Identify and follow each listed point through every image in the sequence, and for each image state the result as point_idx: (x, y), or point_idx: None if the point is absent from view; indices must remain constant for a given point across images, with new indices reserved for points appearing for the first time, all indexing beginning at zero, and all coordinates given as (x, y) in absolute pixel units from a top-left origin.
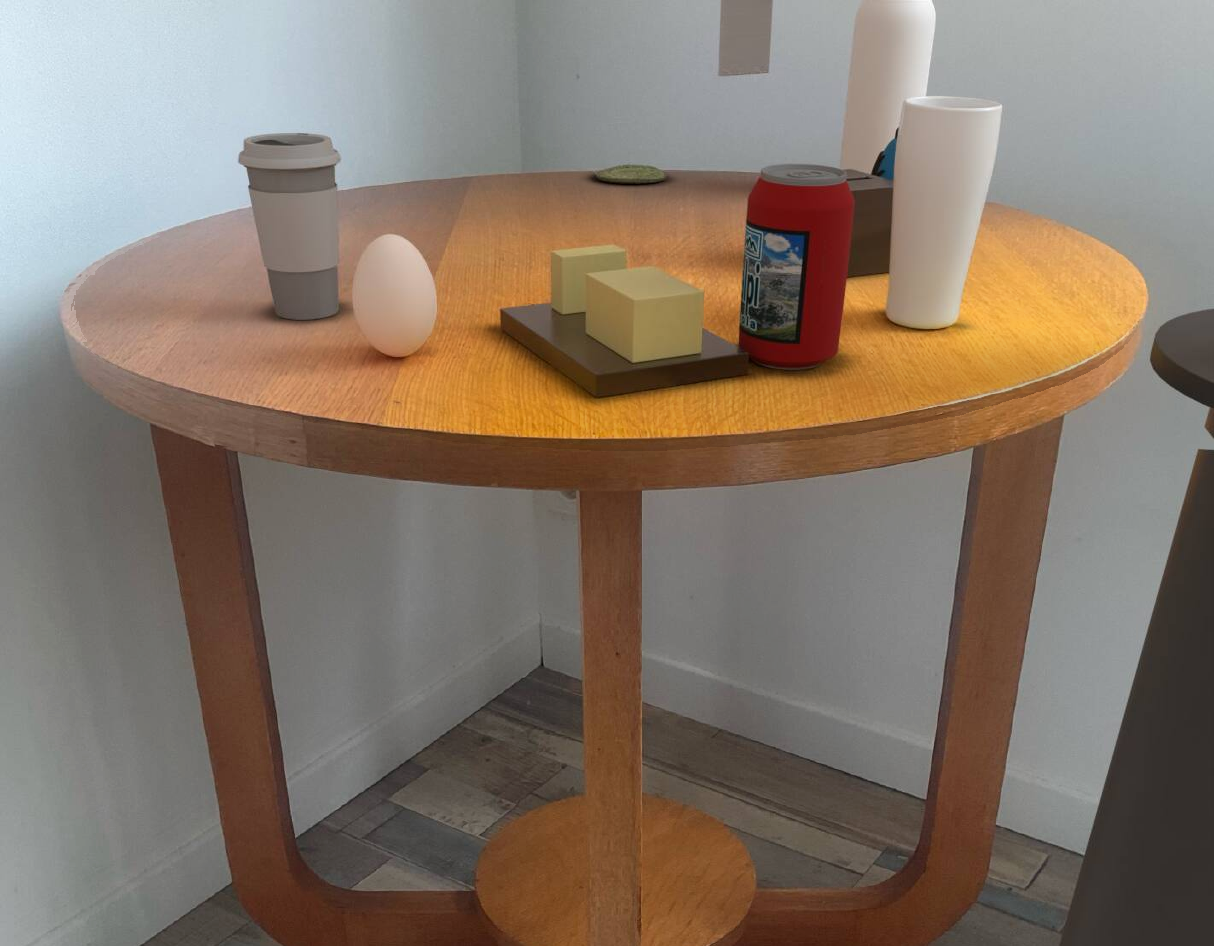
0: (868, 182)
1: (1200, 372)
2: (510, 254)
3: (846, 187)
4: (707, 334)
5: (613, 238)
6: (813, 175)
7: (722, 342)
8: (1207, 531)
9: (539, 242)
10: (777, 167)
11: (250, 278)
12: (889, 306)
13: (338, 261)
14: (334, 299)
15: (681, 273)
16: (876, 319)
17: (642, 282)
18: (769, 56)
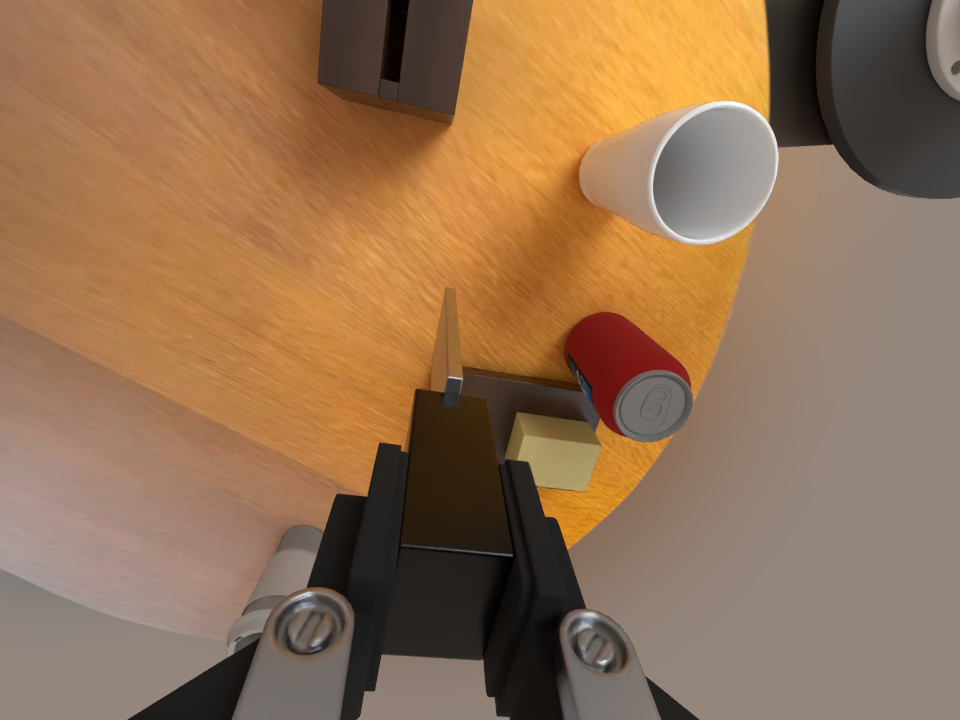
0: (431, 18)
1: (887, 174)
2: (189, 343)
3: (689, 386)
4: (560, 393)
5: (156, 202)
6: (664, 405)
7: (580, 396)
8: (813, 133)
9: (145, 289)
10: (618, 406)
11: (188, 545)
12: (597, 206)
13: (310, 554)
14: (320, 539)
15: (344, 244)
16: (577, 202)
17: (556, 466)
18: (454, 294)
